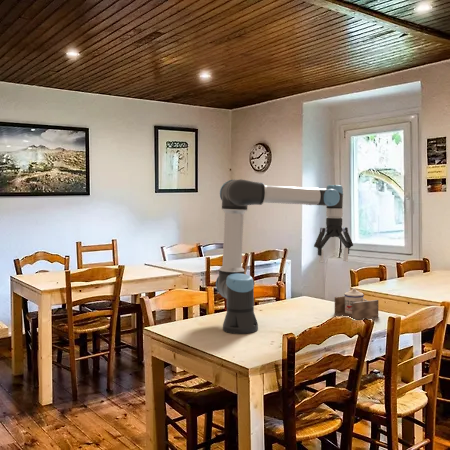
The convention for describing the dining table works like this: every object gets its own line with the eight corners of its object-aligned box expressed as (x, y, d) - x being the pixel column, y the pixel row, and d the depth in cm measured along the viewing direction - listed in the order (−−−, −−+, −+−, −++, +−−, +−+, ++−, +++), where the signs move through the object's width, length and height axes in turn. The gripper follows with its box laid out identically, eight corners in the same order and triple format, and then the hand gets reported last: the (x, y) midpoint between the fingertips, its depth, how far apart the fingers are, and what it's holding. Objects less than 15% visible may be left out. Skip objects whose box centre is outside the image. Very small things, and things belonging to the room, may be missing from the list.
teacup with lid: (340, 312, 255) (340, 288, 255) (350, 309, 262) (350, 285, 261) (363, 316, 247) (363, 291, 246) (373, 313, 254) (373, 288, 253)
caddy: (353, 320, 245) (353, 303, 244) (334, 313, 259) (334, 297, 258) (378, 317, 250) (378, 300, 250) (358, 310, 264) (358, 294, 263)
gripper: (351, 216, 263) (351, 259, 264) (307, 217, 254) (306, 261, 255) (361, 217, 256) (360, 261, 257) (315, 218, 247) (314, 263, 248)
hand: (333, 261), depth 256 cm, fingers open, 13 cm apart
